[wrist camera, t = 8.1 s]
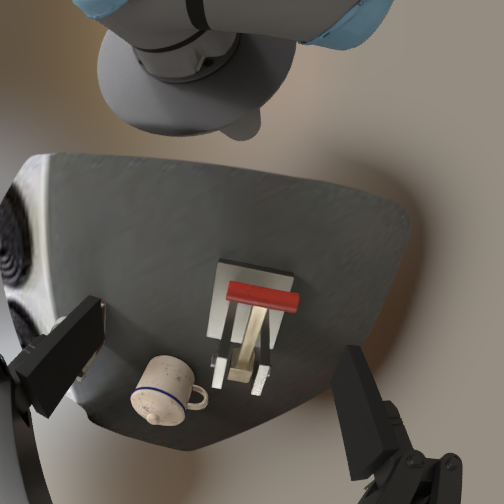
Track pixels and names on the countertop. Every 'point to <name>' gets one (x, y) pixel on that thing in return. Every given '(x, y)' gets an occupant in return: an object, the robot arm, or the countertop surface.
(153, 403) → the teacup with lid
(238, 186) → the countertop surface
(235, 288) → the lever
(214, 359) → the bracket
